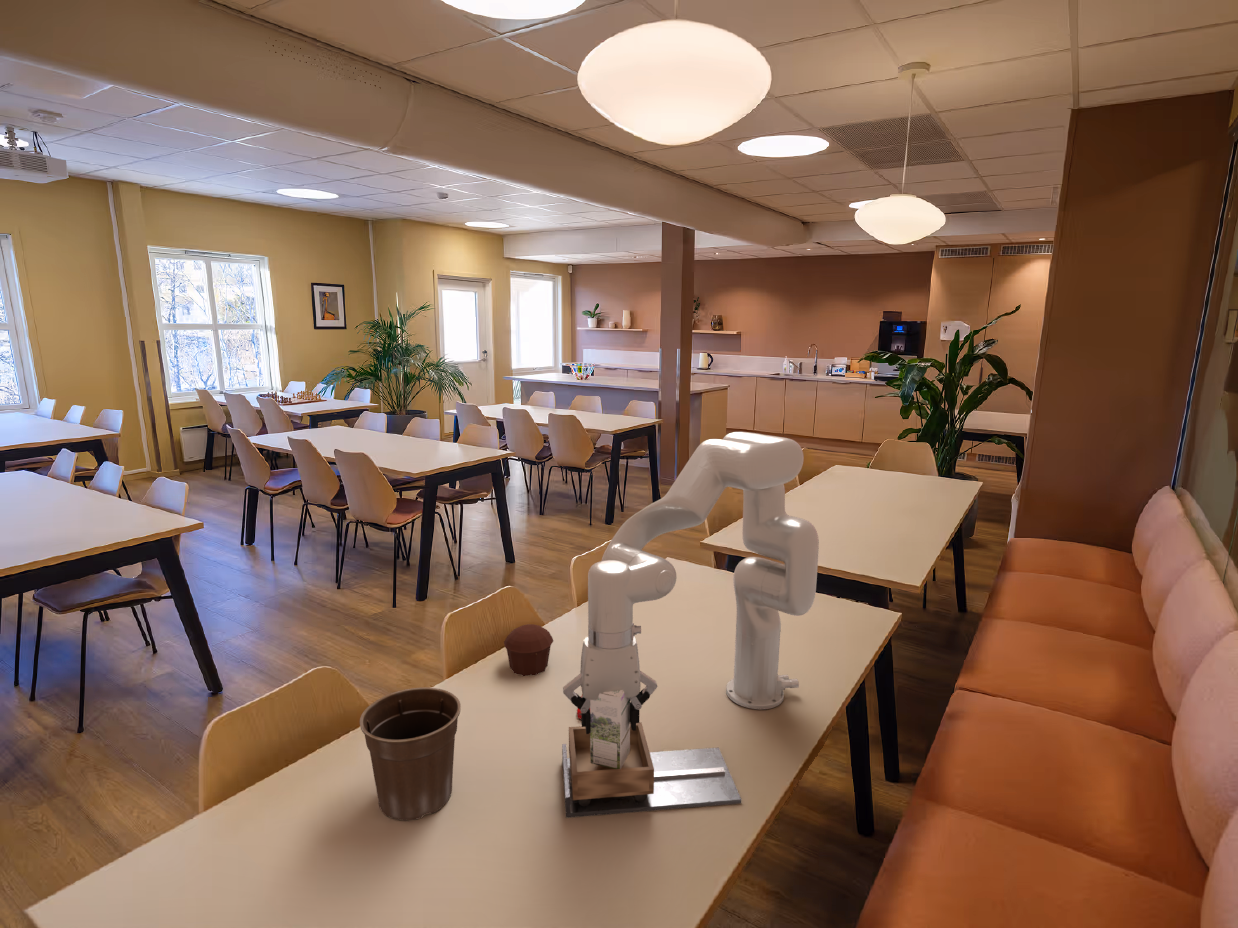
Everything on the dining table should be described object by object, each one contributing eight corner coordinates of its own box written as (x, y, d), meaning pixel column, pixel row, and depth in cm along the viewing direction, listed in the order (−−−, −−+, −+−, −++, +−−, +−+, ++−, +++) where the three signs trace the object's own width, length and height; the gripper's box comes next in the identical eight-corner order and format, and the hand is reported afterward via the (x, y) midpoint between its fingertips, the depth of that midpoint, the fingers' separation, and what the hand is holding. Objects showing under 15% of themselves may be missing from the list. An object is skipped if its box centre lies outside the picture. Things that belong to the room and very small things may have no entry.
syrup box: (630, 751, 118) (631, 677, 115) (620, 772, 112) (620, 695, 109) (601, 744, 120) (601, 672, 117) (589, 764, 114) (588, 688, 111)
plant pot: (387, 764, 122) (382, 684, 119) (474, 766, 121) (471, 687, 118) (349, 829, 106) (342, 739, 103) (449, 832, 106) (444, 742, 102)
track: (718, 751, 127) (719, 733, 126) (741, 803, 113) (742, 783, 112) (562, 762, 123) (562, 743, 122) (565, 817, 109) (565, 797, 108)
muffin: (513, 683, 150) (512, 642, 148) (498, 662, 160) (497, 623, 158) (561, 671, 156) (560, 632, 154) (543, 651, 165) (543, 614, 163)
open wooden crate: (640, 753, 124) (641, 722, 123) (653, 804, 111) (654, 769, 110) (568, 758, 122) (568, 726, 121) (572, 810, 109) (572, 775, 108)
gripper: (657, 621, 116) (655, 712, 119) (558, 626, 114) (559, 718, 117) (665, 641, 109) (663, 737, 112) (559, 646, 107) (561, 744, 110)
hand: (610, 727), depth 115 cm, fingers closed on syrup box, 7 cm apart
